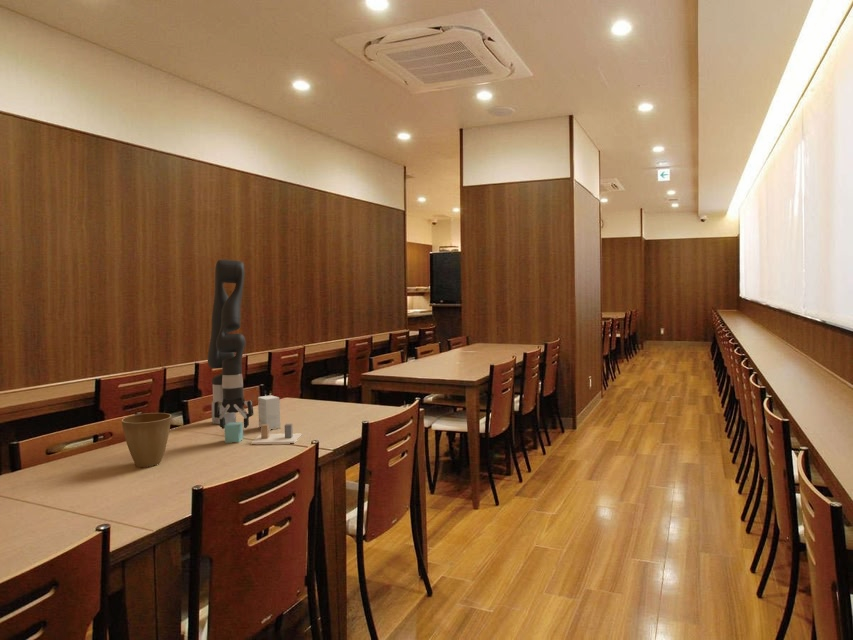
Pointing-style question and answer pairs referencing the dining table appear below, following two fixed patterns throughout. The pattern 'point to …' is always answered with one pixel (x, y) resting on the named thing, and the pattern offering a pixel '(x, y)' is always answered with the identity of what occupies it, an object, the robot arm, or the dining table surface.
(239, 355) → the robot arm
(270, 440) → the post board
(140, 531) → the dining table surface
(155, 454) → the plant pot
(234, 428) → the teal block
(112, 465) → the dining table surface
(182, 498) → the dining table surface
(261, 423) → the small box
